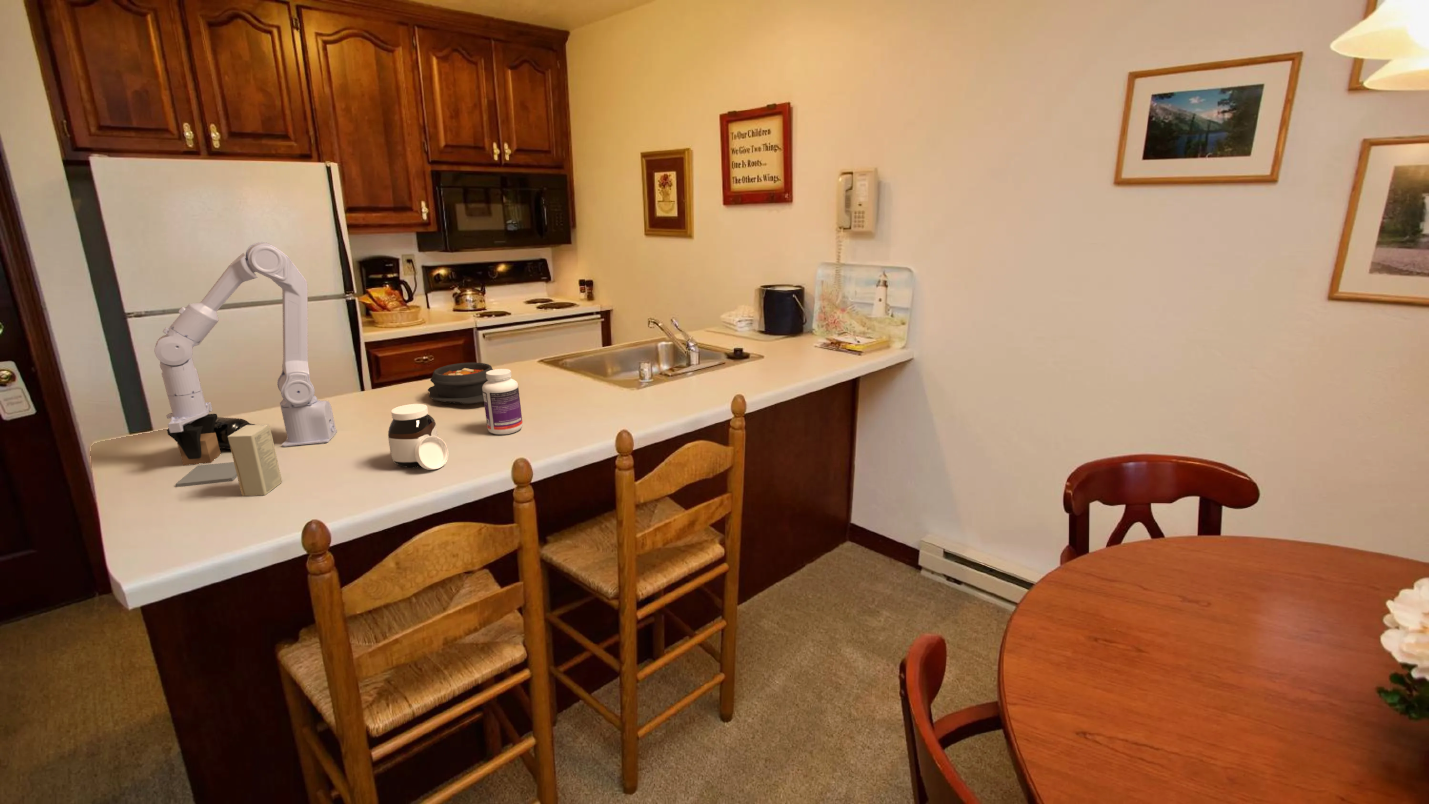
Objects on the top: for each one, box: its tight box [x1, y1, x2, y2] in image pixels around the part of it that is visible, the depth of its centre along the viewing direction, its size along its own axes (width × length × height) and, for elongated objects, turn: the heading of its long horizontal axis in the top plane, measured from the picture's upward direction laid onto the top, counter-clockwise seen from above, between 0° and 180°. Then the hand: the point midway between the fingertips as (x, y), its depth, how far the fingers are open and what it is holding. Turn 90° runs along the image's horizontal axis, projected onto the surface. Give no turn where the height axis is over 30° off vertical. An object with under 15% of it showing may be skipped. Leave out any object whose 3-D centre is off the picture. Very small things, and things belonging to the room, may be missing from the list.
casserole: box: [427, 362, 494, 405], centre depth 181 cm, size 25×19×8 cm
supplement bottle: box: [213, 416, 256, 450], centre depth 146 cm, size 7×7×12 cm
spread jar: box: [387, 403, 449, 471], centre depth 136 cm, size 12×11×12 cm
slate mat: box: [174, 461, 238, 488], centre depth 133 cm, size 10×10×1 cm
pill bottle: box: [482, 368, 523, 436], centre depth 154 cm, size 8×8×14 cm
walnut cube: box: [176, 433, 222, 466], centre depth 140 cm, size 5×5×5 cm
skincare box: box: [228, 424, 283, 497], centre depth 124 cm, size 6×4×12 cm
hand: (200, 453), depth 140 cm, fingers closed on walnut cube, 5 cm apart
